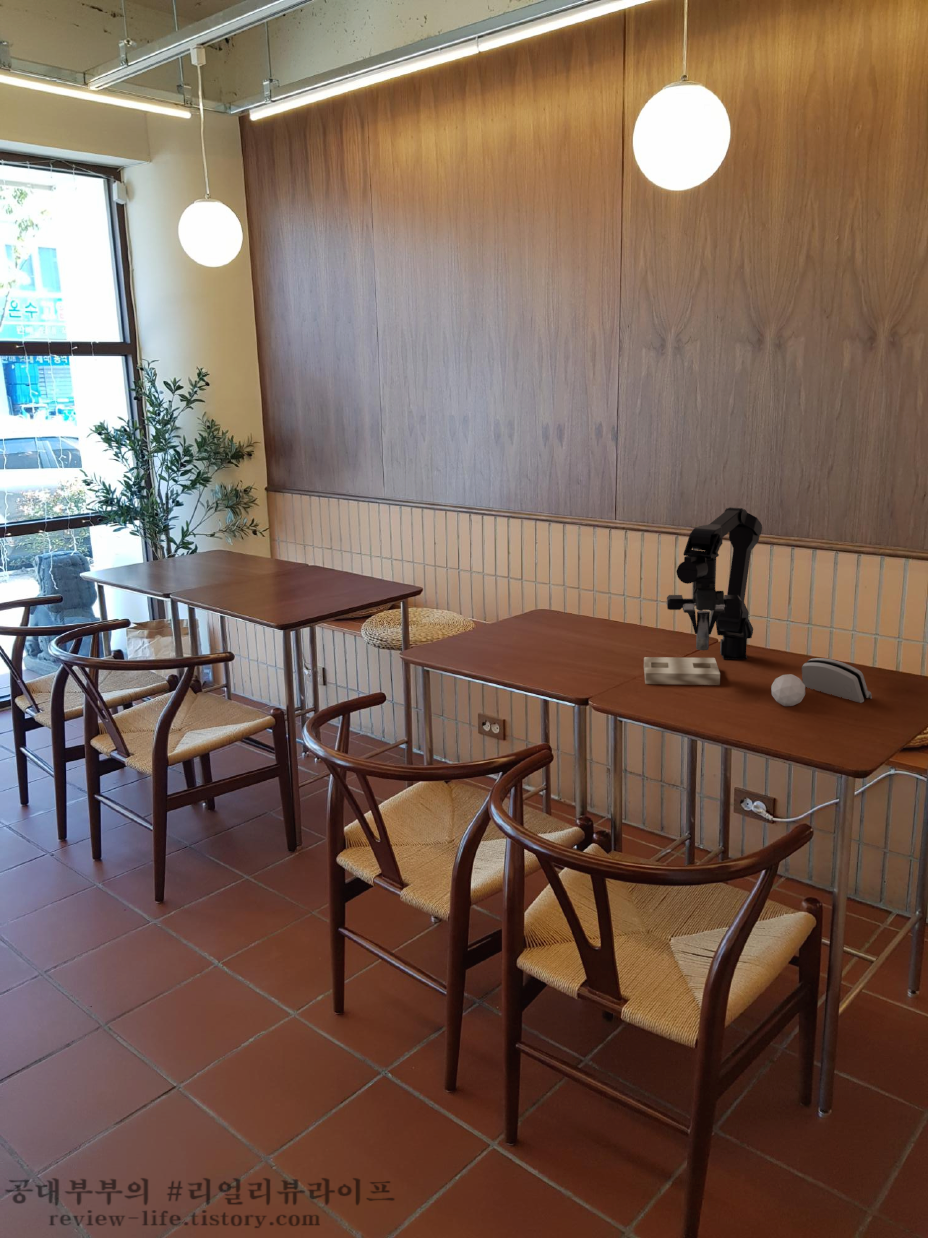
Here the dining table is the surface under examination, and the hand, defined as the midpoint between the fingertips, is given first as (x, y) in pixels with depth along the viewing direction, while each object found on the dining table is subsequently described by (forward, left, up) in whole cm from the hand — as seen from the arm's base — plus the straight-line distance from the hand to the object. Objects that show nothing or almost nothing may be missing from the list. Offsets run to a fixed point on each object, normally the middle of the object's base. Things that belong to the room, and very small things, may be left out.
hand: (702, 633), depth 247 cm
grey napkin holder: (-31, +12, -12) cm, 36 cm away
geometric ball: (-19, +21, -12) cm, 30 cm away
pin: (0, 0, -4) cm, 4 cm away
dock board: (+5, 0, -12) cm, 13 cm away
